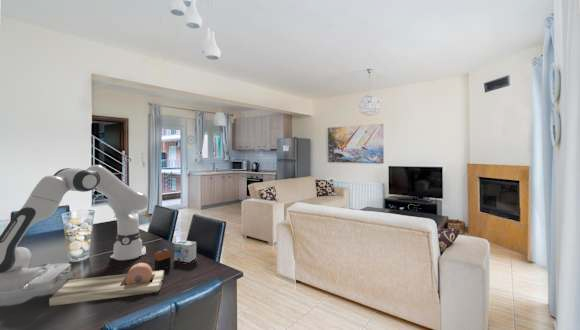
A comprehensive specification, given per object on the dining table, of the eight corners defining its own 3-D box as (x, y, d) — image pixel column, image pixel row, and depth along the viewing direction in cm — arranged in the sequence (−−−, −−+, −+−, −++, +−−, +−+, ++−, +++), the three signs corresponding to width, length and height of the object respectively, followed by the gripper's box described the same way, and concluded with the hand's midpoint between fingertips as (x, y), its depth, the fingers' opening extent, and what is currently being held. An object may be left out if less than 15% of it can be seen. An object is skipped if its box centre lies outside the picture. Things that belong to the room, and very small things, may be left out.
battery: (170, 267, 147) (170, 249, 146) (158, 271, 141) (158, 252, 141) (166, 265, 149) (166, 247, 149) (154, 269, 144) (154, 251, 143)
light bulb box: (173, 261, 155) (173, 243, 154) (181, 257, 161) (181, 239, 161) (188, 264, 151) (189, 245, 151) (196, 260, 158) (196, 241, 157)
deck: (69, 286, 124) (69, 280, 124) (164, 275, 136) (164, 269, 136) (49, 306, 108) (49, 298, 108) (159, 291, 120) (159, 285, 120)
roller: (156, 273, 130) (137, 287, 127) (143, 258, 128) (123, 272, 125) (155, 279, 124) (135, 294, 121) (140, 263, 122) (120, 278, 119)
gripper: (18, 282, 103) (61, 277, 107) (47, 262, 122) (83, 258, 127) (18, 298, 103) (62, 293, 107) (47, 275, 122) (83, 272, 127)
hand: (73, 274), depth 117 cm, fingers closed
